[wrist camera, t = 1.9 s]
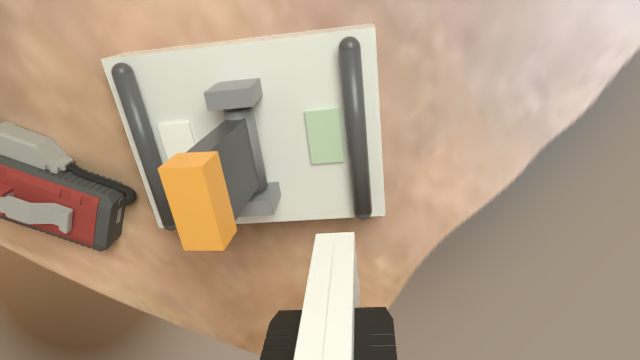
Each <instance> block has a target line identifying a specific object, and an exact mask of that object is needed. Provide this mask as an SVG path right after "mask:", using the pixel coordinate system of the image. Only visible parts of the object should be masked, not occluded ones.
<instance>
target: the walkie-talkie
mask: <svg viewBox="0 0 640 360" xmlns="http://www.w3.org/2000/svg"><path fill="white" fill-rule="evenodd" d="M127 195H128V196H129V198H130V199H129V198H127ZM136 197H137V196H136V193H135V191H134V190H133V189H131V188H130V187H128V186H126V185H123V184H122V182H120V183H119V182H117V181H116V180H111V179H110V178H105V176H99V174H94V173H93V172H88V171H87V170H82V169H81V168H79V167H78V166H77V165H75V164H73V159H71V158H70V157H69V156H68V154H67V153H66V152H65V151H64V150H63V149H62V148H61V147H60V146H59V145H58V144H57V143H56V142H55V141H54V140H53V139H51V138H49V137H46V136H43V135H40V134H37V133H35V132H32V131H29V130H26V129H23V128H21V127H18V126H17V125H16V124H14V123H11V122H8V121H5V122H2V123H0V218H2V219H5V220H8V221H11V222H14V223H17V224H20V225H23V226H26V227H29V228H32V229H35V230H39V231H41V232H45V233H47V234H51V235H53V236H57V237H59V238H63V239H65V240H69V241H71V242H75V243H76V244H81V245H82V246H87V247H88V248H93V249H94V250H95V249H96V250H99V251H103V250H107V249H108V248H109V247H110V246H111V245H112V243H113V242H114V241H115V240H116V239H117V238H118V237H119V236H120V235H121V231H122V225H123V218H124V212H125V205H129V204H132V202H134V200H135V199H136Z"/></svg>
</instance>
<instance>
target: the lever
mask: <svg viewBox="0 0 640 360" xmlns="http://www.w3.org/2000/svg"><path fill="white" fill-rule="evenodd" d="M223 113H224V118H225V121H223V122H222V123H221V124H220V125H219V126H217V127H216V128H215V129H214V130H212V131H211V132H210V133H209V134H208V135H206V136H205V137H204V138H203V139H201V140H200V141H199V142H198V143H197V144H195V145H194V146H193V147H192V148H190V149H189V150H188V151H187V152H185V153H176V154H175V155H174V156H173V157H171V158H170V159H169V160H168V161H166V162H165V163H164V164H162V165H161V166H160V167H159V168H157V169H158V172H159V175H160V178H161V181H162V184H163V187H164V190H165V194H166V197H167V200H168V203H169V206H170V209H171V212H172V215H173V218H174V221H175V225H176V228H177V231H178V234H179V237H180V240H181V243H182V246H183V249H184V250H193V251H224V250H225V249H226V247H227V245H228V244H229V242H230V241H231V239H232V238H233V236H234V234H235V233H236V231H237V227H236V223H235V221H236V219H237V218H238V216H239V215H240V213H241V212H242V210H243V209H244V207H245V206H246V205H247V203H248V202H249V200H250V199H251V197H252V196H253V194H254V193H258V192H261V191H263V190H265V189H266V188H267V187H268V183H267V177H266V172H265V167H264V162H263V157H262V152H261V147H260V141H259V136H258V131H257V126H256V121H255V116H254V111H253V107H246V108H235V109H225V110H223Z"/></svg>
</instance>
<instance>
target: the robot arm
mask: <svg viewBox="0 0 640 360" xmlns="http://www.w3.org/2000/svg"><path fill="white" fill-rule="evenodd" d="M260 360H397V354H396V344H395V335H394V324H393V318H392V317H391V315H390V314H389V312H388V310H387V309H386V307H367V308H359V277H358V267H357V256H356V246H355V235H354V232H344V233H324V234H316V237H315V243H314V248H313V254H312V259H311V265H310V271H309V276H308V282H307V288H306V293H305V299H304V304H303V310H284V311H278V313H277V314H276V315H275V316H274V318H273V319H272V320H271V322H270V324H269V327H268V331H267V335H266V338H265V342H264V346H263V350H262V353H261V357H260Z"/></svg>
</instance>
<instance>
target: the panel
mask: <svg viewBox="0 0 640 360" xmlns="http://www.w3.org/2000/svg"><path fill="white" fill-rule="evenodd" d="M101 61H102V64H103V67H104V70H105V73H106V76H107V79H108V82H109V85H110V87H111V90H112V93H113V96H114V99H115V102H116V105H117V108H118V111H119V114H120V116H121V119H122V122H123V125H124V128H125V131H126V134H127V137H128V140H129V142H130V145H131V148H132V151H133V154H134V157H135V160H136V163H137V166H138V169H139V171H140V174H141V177H142V180H143V183H144V186H145V189H146V192H147V195H148V198H149V200H150V203H151V206H152V209H153V212H154V215H155V218H156V221H157V224H158V226H159V228H165V229H167V230H175V229H177V228H176V225H175V221H174V218H173V215H172V212H171V209H170V206H169V203H168V200H167V197H166V194H165V190H164V187H163V184H162V181H161V178H160V175H159V172H158V169H157V168H159V167H160V166H161V165H162V164H164V163H165V162H166V161H168V160H169V159H170V158H171V157H173V156H174V155H175V154H176V153H185V152H187V151H188V150H189V149H190V148H192V147H193V146H194V145H195V144H197V143H198V142H199V141H200V140H201V139H203V138H204V137H205V136H206V135H208V134H209V133H210V132H211V131H212V130H214V129H215V128H216V127H217V126H219V125H220V124H221V123H222V122H223V121H225V118H224V113H223V110H225V109H235V108H246V107H253V111H254V116H255V121H256V126H257V131H258V136H259V141H260V147H261V152H262V157H263V162H264V167H265V172H266V177H267V183H268V187H267V188H266V189H265V190H263V191H261V192H258V193H254V194H253V196H252V197H251V199H250V200H249V202H248V203H247V205H246V206H245V207H244V209H243V210H242V212H241V213H240V215H239V216H238V218H237V219H236V221H235V223H236V224H246V223H264V222H282V221H300V220H317V219H335V218H353V217H357V218H358V219H361V220H365V219H367V218H369V217H371V216H385V200H384V182H383V163H382V145H381V126H380V108H379V90H378V71H377V53H376V35H375V26H374V23H369V24H361V25H353V26H344V27H336V28H327V29H319V30H310V31H302V32H293V33H285V34H276V35H268V36H259V37H251V38H242V39H234V40H225V41H217V42H208V43H200V44H191V45H183V46H175V47H166V48H158V49H149V50H141V51H132V52H124V53H120V54H117V55H113V56H110V57H106V58H103V59H101Z"/></svg>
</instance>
